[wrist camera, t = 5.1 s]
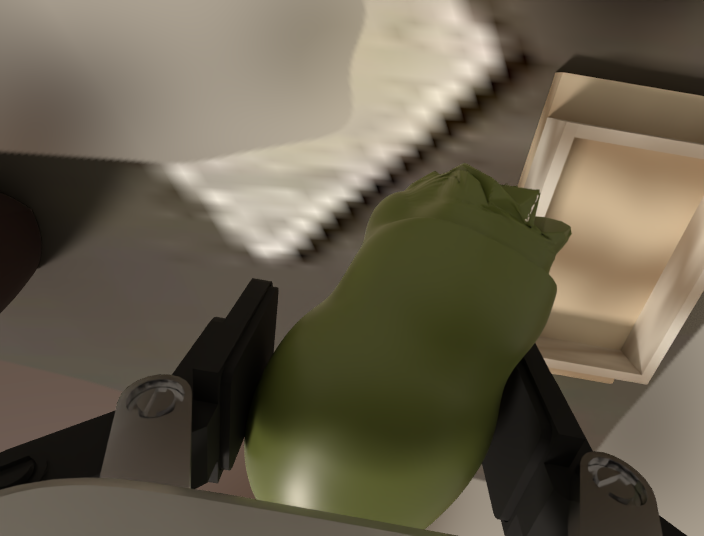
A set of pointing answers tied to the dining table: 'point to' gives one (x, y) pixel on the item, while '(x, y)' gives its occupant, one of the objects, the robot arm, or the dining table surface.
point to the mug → (17, 248)
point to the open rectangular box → (619, 222)
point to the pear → (407, 354)
